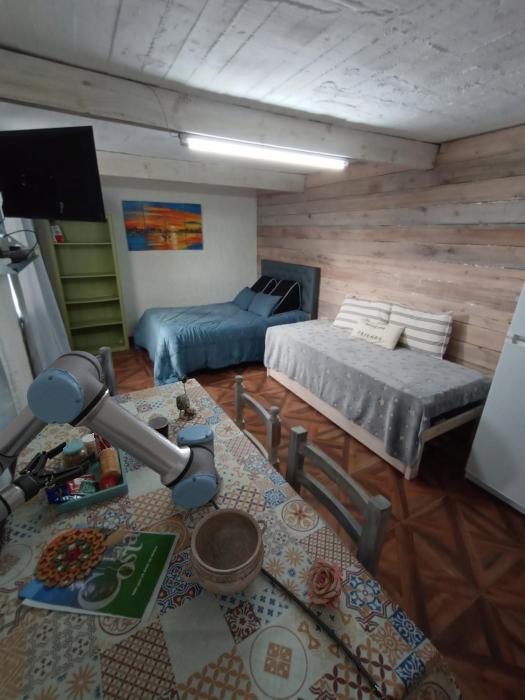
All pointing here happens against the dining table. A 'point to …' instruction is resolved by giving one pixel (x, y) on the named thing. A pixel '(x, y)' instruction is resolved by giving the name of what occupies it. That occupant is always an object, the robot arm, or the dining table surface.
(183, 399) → the plant with pod
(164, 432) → the coffee mug
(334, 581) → the flower
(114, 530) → the dining table surface
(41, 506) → the dining table surface
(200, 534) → the cooking pot
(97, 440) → the soda can
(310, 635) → the dining table surface
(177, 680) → the dining table surface
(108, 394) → the robot arm
